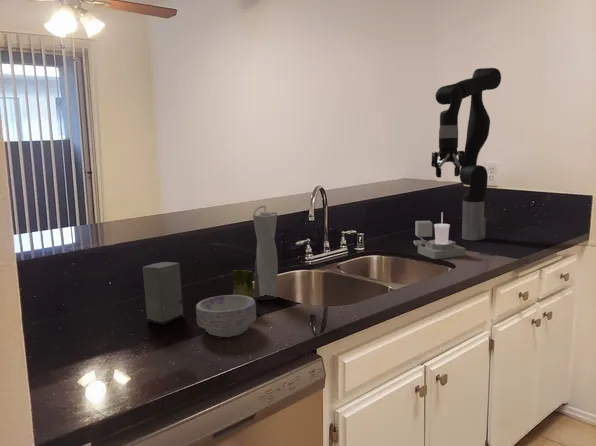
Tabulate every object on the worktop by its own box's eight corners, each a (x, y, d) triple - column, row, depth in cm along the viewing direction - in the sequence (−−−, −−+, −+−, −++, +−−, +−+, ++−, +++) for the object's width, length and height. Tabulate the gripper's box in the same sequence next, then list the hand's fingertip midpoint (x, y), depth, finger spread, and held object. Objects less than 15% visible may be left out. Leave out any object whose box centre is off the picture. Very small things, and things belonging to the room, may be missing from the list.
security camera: (432, 245, 237) (432, 222, 235) (415, 245, 237) (416, 223, 235) (429, 242, 243) (429, 220, 241) (413, 242, 243) (413, 220, 241)
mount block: (447, 249, 228) (447, 237, 227) (465, 255, 217) (465, 243, 216) (417, 253, 223) (418, 241, 222) (434, 259, 212) (434, 246, 211)
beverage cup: (449, 248, 216) (450, 213, 214) (433, 248, 217) (434, 213, 215) (449, 245, 222) (449, 211, 219) (433, 245, 223) (433, 211, 221)
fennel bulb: (256, 310, 158) (254, 269, 156) (244, 314, 154) (242, 273, 152) (242, 306, 162) (241, 266, 160) (230, 310, 158) (228, 270, 156)
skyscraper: (253, 293, 174) (249, 206, 170) (279, 291, 175) (276, 204, 171) (254, 301, 166) (250, 209, 161) (281, 299, 167) (278, 208, 162)
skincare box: (163, 326, 146) (159, 269, 144) (144, 322, 150) (140, 266, 148) (185, 317, 154) (181, 262, 151) (167, 313, 157) (163, 259, 155)
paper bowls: (217, 319, 151) (215, 291, 150) (266, 325, 146) (265, 296, 144) (185, 338, 138) (183, 308, 136) (239, 346, 132) (237, 314, 130)
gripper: (457, 136, 228) (456, 175, 231) (428, 137, 223) (427, 177, 226) (469, 136, 221) (468, 176, 224) (438, 137, 216) (438, 178, 219)
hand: (447, 176), depth 225 cm, fingers open, 8 cm apart
